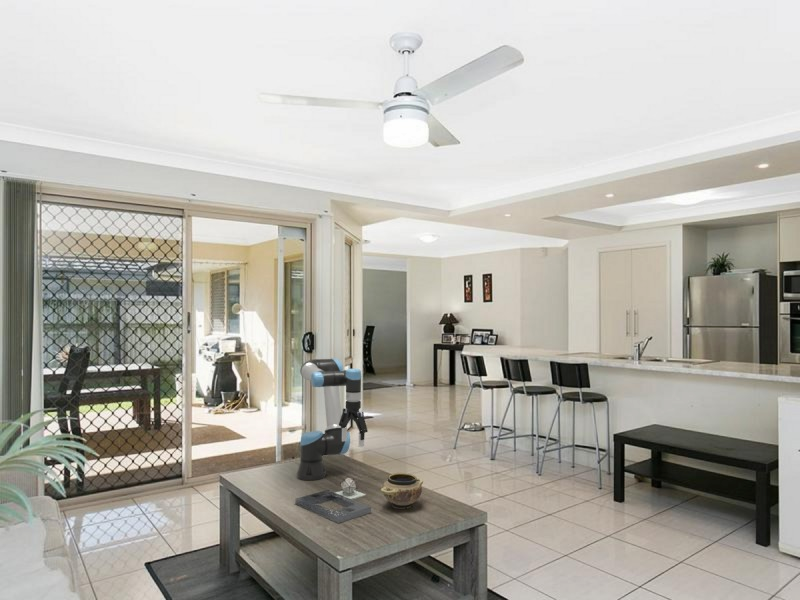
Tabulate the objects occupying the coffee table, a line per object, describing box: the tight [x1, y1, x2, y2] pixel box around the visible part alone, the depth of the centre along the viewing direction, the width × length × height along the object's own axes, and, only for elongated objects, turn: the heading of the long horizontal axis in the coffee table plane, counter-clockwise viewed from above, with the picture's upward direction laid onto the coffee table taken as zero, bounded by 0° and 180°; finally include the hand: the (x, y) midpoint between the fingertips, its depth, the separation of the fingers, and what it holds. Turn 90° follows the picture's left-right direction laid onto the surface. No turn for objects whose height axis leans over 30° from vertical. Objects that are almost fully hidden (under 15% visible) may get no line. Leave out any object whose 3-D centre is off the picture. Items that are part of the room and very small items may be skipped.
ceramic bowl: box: [380, 472, 424, 510], centre depth 246 cm, size 24×18×15 cm
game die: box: [339, 477, 359, 496], centre depth 260 cm, size 9×8×10 cm
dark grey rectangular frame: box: [294, 489, 372, 524], centre depth 242 cm, size 32×18×3 cm, turn 44°
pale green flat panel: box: [335, 489, 366, 500], centre depth 259 cm, size 12×12×1 cm
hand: (352, 443), depth 266 cm, fingers open, 13 cm apart
